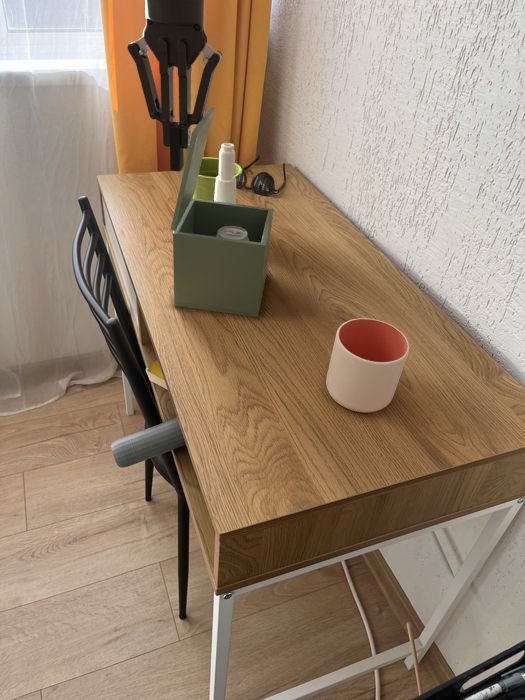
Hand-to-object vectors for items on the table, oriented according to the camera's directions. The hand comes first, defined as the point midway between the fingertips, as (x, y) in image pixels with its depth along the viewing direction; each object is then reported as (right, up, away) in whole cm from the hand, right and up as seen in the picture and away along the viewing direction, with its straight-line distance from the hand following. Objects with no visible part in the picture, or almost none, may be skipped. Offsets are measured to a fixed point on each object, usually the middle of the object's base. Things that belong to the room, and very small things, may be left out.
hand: (177, 167), depth 82 cm
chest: (+6, -18, +13) cm, 23 cm away
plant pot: (+2, +1, +36) cm, 36 cm away
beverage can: (+7, -19, +11) cm, 23 cm away
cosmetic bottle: (+5, -10, +23) cm, 25 cm away
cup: (+28, -35, -4) cm, 45 cm away
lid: (+3, 0, 0) cm, 3 cm away
